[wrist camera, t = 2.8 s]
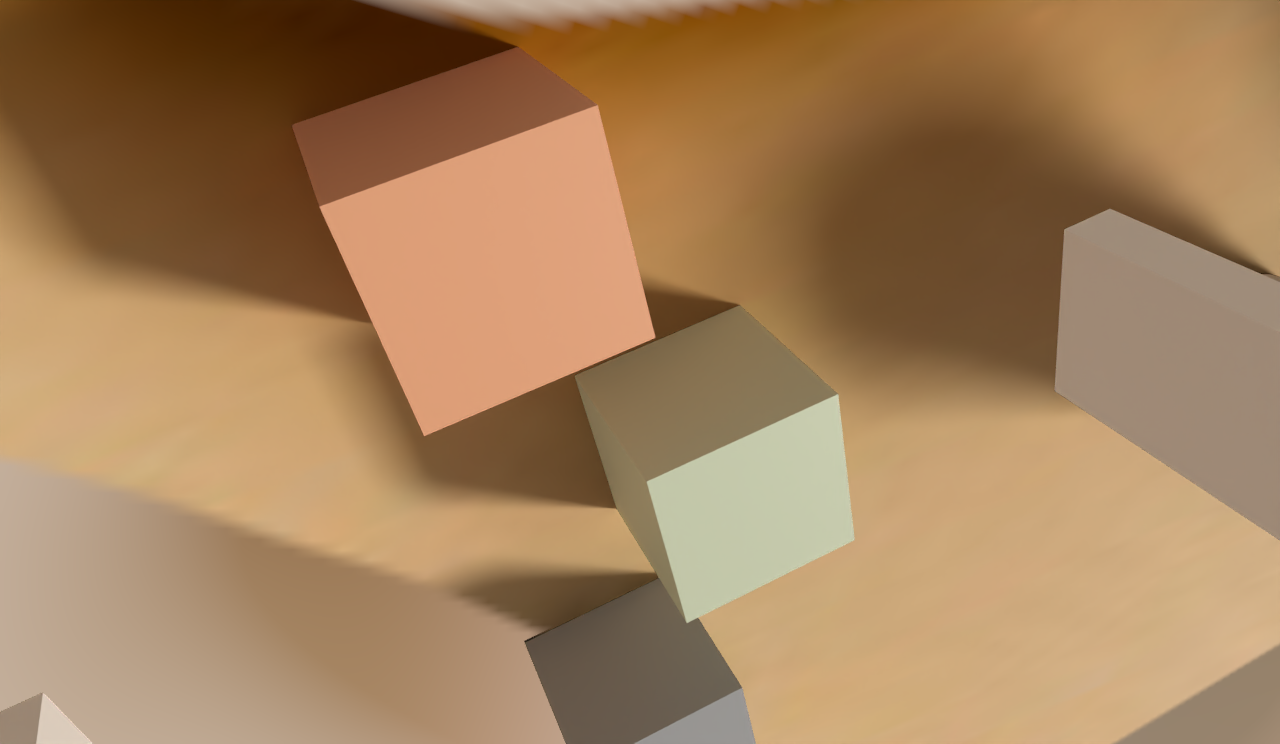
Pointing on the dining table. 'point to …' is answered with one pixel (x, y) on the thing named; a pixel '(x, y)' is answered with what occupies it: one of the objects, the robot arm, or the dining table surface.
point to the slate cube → (639, 676)
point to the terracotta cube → (480, 231)
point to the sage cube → (721, 458)
